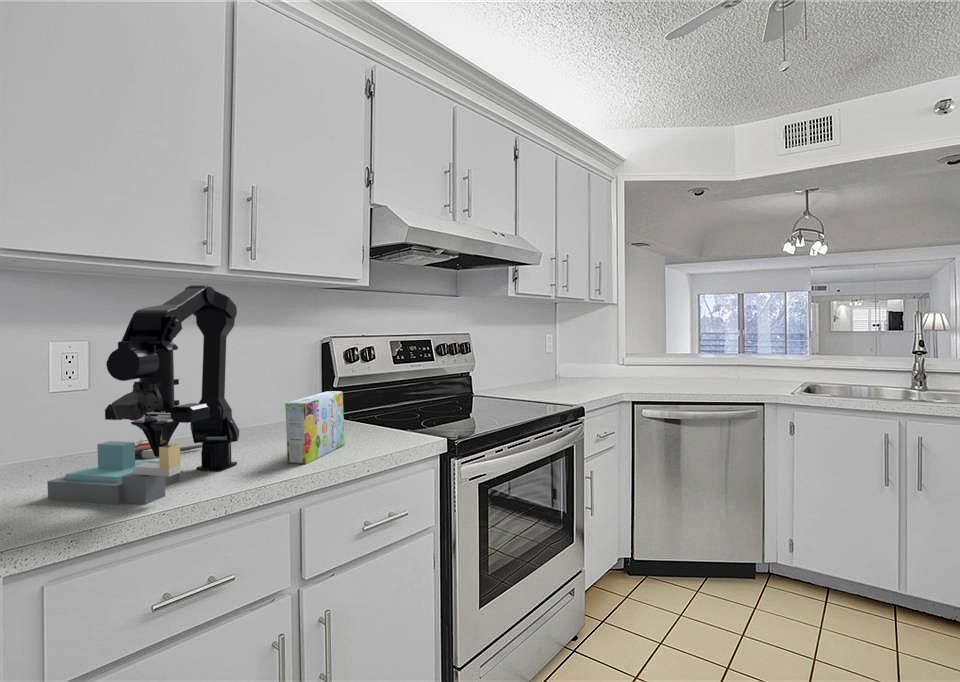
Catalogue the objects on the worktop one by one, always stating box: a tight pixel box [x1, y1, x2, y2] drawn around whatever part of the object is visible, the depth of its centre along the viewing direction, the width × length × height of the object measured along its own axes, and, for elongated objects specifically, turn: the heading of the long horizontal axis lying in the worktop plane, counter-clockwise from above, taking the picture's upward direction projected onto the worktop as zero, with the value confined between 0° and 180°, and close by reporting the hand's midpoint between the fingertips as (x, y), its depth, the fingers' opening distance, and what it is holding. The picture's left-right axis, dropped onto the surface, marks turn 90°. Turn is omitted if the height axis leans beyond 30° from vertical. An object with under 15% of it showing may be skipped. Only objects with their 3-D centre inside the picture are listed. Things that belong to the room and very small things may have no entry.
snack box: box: [284, 390, 346, 465], centre depth 145 cm, size 21×6×15 cm, turn 168°
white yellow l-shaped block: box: [132, 443, 181, 477], centre depth 108 cm, size 3×8×6 cm, turn 79°
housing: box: [47, 472, 181, 505], centre depth 114 cm, size 16×21×5 cm
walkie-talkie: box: [135, 437, 202, 460], centre depth 145 cm, size 9×4×20 cm
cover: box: [64, 440, 159, 483], centre depth 115 cm, size 12×12×8 cm
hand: (158, 456), depth 107 cm, fingers closed
